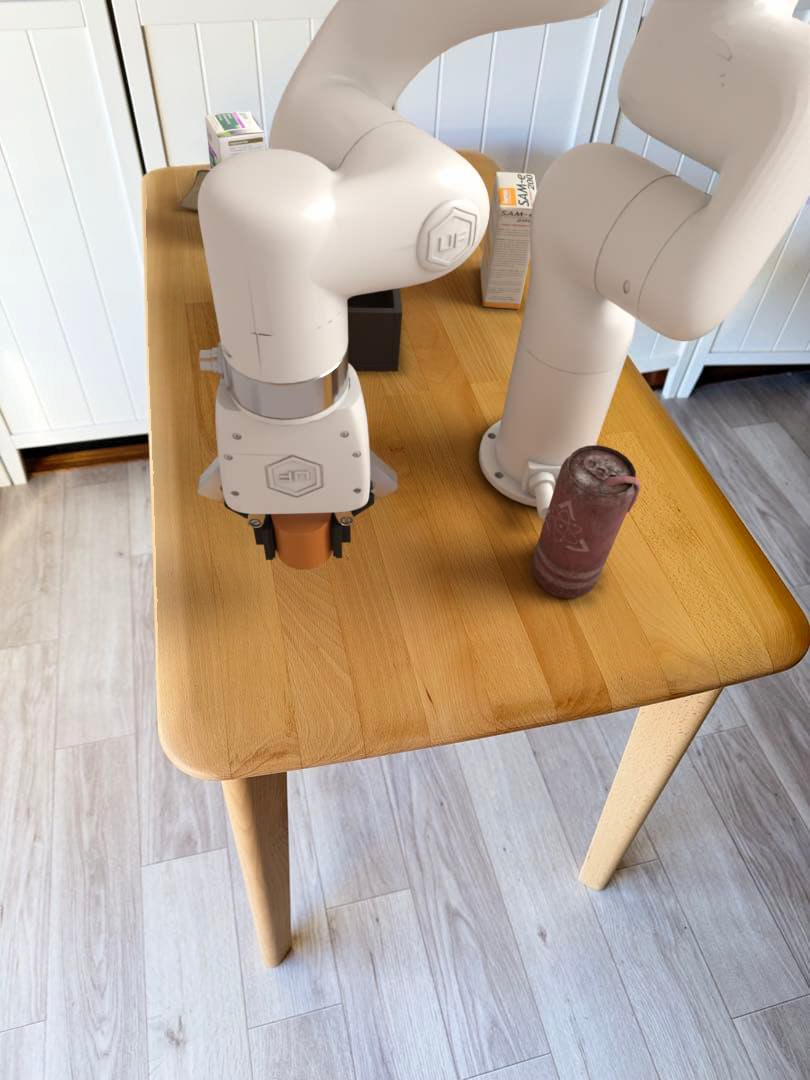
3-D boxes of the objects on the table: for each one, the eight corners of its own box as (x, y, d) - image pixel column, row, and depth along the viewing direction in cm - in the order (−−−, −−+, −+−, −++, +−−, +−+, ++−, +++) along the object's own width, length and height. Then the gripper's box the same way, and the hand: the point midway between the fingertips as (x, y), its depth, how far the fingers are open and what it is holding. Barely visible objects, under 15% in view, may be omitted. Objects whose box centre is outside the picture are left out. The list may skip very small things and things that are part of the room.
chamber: (398, 371, 91) (402, 312, 85) (284, 370, 90) (280, 311, 83) (391, 293, 100) (394, 235, 94) (287, 291, 99) (284, 232, 92)
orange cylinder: (334, 569, 63) (332, 533, 60) (274, 570, 63) (269, 535, 60) (333, 523, 66) (331, 486, 63) (276, 524, 66) (271, 488, 62)
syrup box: (215, 229, 106) (201, 114, 95) (259, 221, 108) (250, 108, 96) (229, 252, 103) (215, 137, 92) (273, 244, 105) (265, 129, 93)
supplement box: (521, 310, 99) (542, 210, 89) (481, 308, 99) (498, 206, 89) (516, 271, 104) (536, 172, 94) (479, 269, 104) (494, 169, 94)
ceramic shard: (257, 176, 107) (253, 173, 106) (252, 219, 108) (249, 217, 107) (187, 166, 108) (182, 163, 106) (183, 209, 109) (178, 207, 108)
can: (597, 607, 72) (643, 505, 61) (527, 593, 73) (560, 489, 62) (601, 555, 76) (645, 449, 65) (534, 541, 77) (566, 435, 66)
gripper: (139, 411, 47) (192, 587, 62) (429, 406, 48) (414, 580, 63) (155, 328, 52) (200, 510, 66) (419, 326, 53) (407, 505, 67)
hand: (304, 543), depth 64 cm, fingers closed on orange cylinder, 4 cm apart
